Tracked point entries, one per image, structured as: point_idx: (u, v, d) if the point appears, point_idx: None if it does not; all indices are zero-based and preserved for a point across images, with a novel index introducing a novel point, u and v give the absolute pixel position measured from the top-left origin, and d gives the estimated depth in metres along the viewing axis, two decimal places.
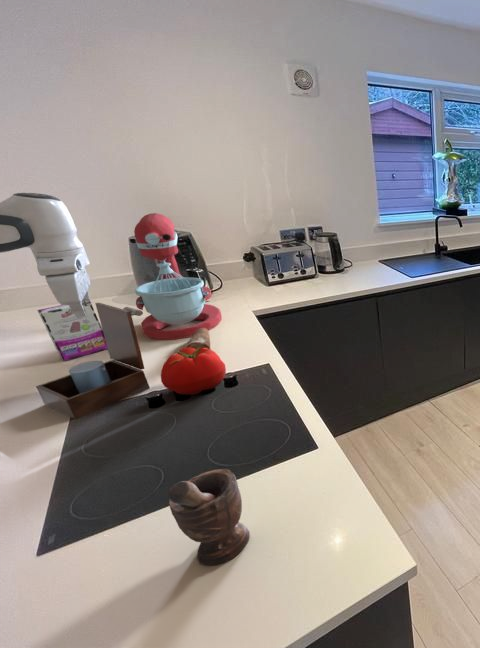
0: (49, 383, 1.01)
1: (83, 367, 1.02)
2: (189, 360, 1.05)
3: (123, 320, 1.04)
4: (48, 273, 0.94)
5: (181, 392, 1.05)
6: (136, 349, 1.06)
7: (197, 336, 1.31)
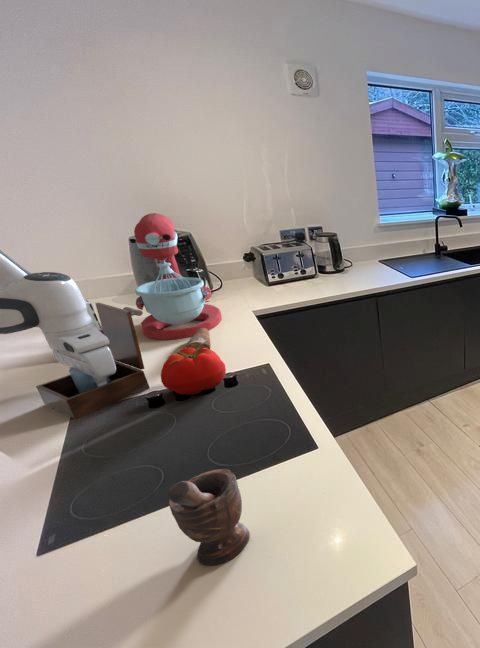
0: (49, 383, 1.01)
1: None
2: (189, 360, 1.05)
3: (123, 320, 1.04)
4: (85, 350, 0.95)
5: (181, 392, 1.05)
6: (136, 349, 1.06)
7: (197, 336, 1.31)
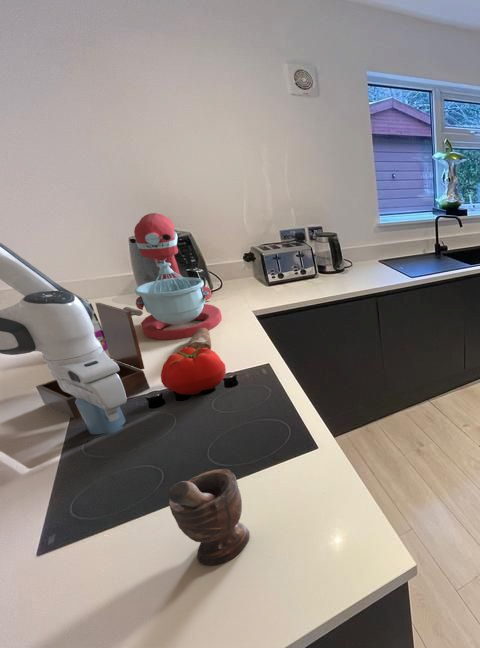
0: (49, 383, 1.01)
1: None
2: (189, 360, 1.05)
3: (123, 320, 1.04)
4: (93, 379, 0.84)
5: (181, 392, 1.05)
6: (136, 349, 1.06)
7: (198, 336, 1.31)
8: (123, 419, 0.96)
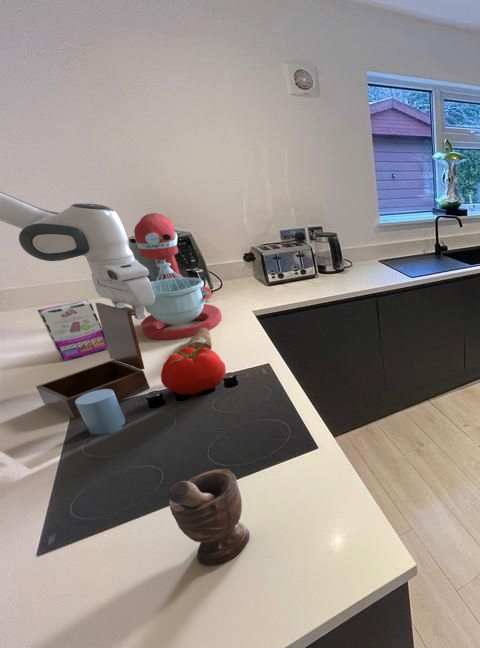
0: (49, 383, 1.01)
1: (91, 397, 0.92)
2: (189, 360, 1.05)
3: (123, 320, 1.04)
4: (128, 277, 1.00)
5: (181, 392, 1.05)
6: (136, 349, 1.06)
7: (198, 336, 1.31)
8: (123, 419, 0.96)
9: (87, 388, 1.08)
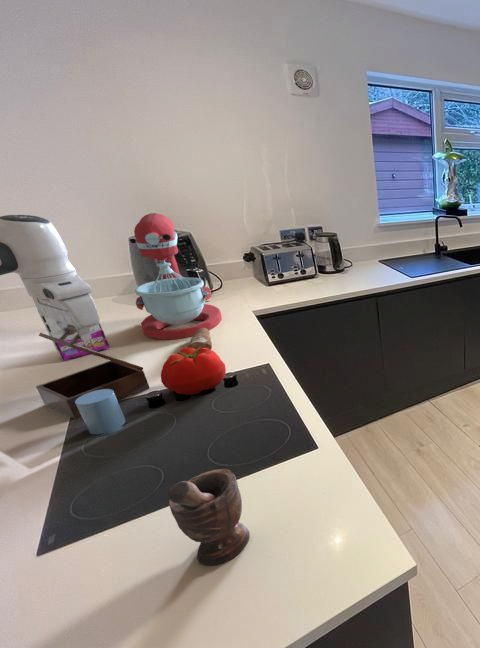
0: (49, 383, 1.01)
1: (91, 397, 0.92)
2: (189, 360, 1.05)
3: None
4: (66, 296, 0.91)
5: (181, 392, 1.05)
6: (118, 362, 1.03)
7: (198, 336, 1.31)
8: (123, 419, 0.96)
9: (87, 388, 1.08)
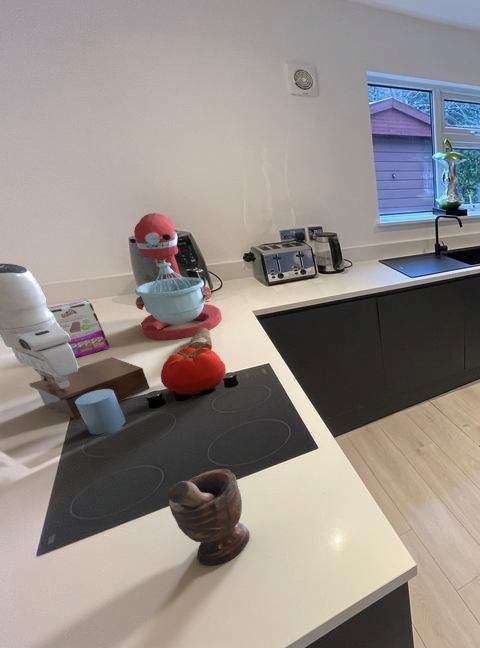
0: None
1: (91, 397, 0.92)
2: (189, 360, 1.05)
3: None
4: (43, 347, 0.88)
5: (181, 392, 1.05)
6: (116, 379, 1.03)
7: (198, 336, 1.31)
8: (123, 419, 0.96)
9: None
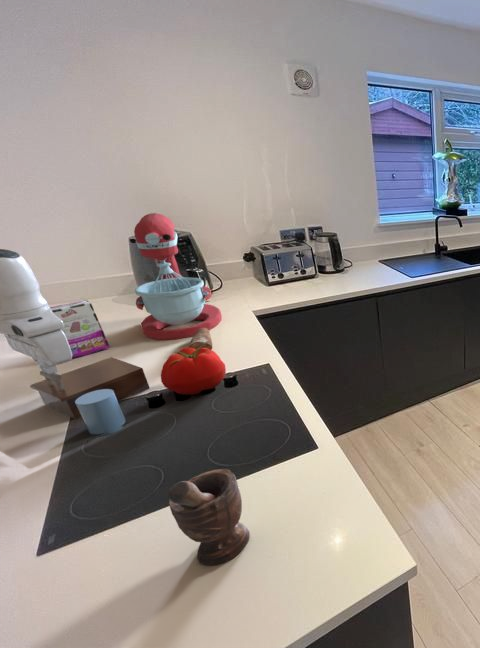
0: None
1: (91, 397, 0.92)
2: (189, 360, 1.05)
3: None
4: (36, 333, 0.87)
5: (181, 392, 1.05)
6: (116, 380, 1.03)
7: (199, 336, 1.31)
8: (123, 419, 0.96)
9: None
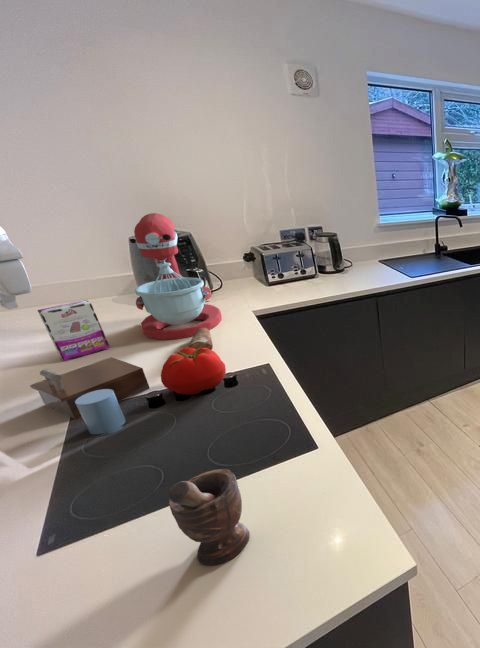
0: None
1: (91, 397, 0.92)
2: (189, 360, 1.05)
3: None
4: None
5: (181, 392, 1.05)
6: (116, 380, 1.03)
7: (199, 336, 1.31)
8: (123, 419, 0.96)
9: None
